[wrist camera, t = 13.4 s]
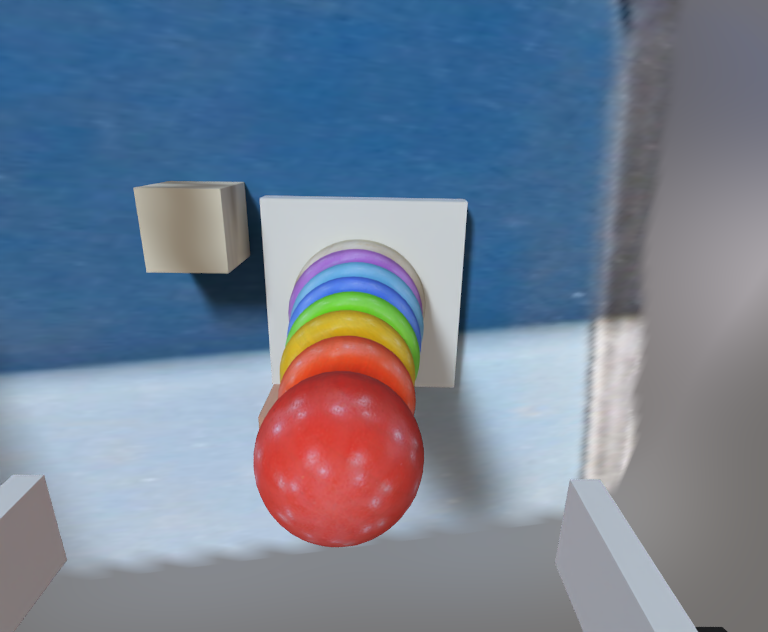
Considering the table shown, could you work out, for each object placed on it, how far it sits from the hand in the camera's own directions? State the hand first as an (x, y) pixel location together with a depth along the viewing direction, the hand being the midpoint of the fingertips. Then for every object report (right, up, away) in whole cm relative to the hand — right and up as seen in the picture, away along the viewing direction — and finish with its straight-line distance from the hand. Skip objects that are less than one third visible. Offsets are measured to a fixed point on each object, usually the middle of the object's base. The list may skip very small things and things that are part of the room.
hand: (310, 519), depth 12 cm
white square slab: (+1, +7, +19) cm, 20 cm away
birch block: (-9, +11, +18) cm, 23 cm away
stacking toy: (0, +6, +18) cm, 19 cm away
